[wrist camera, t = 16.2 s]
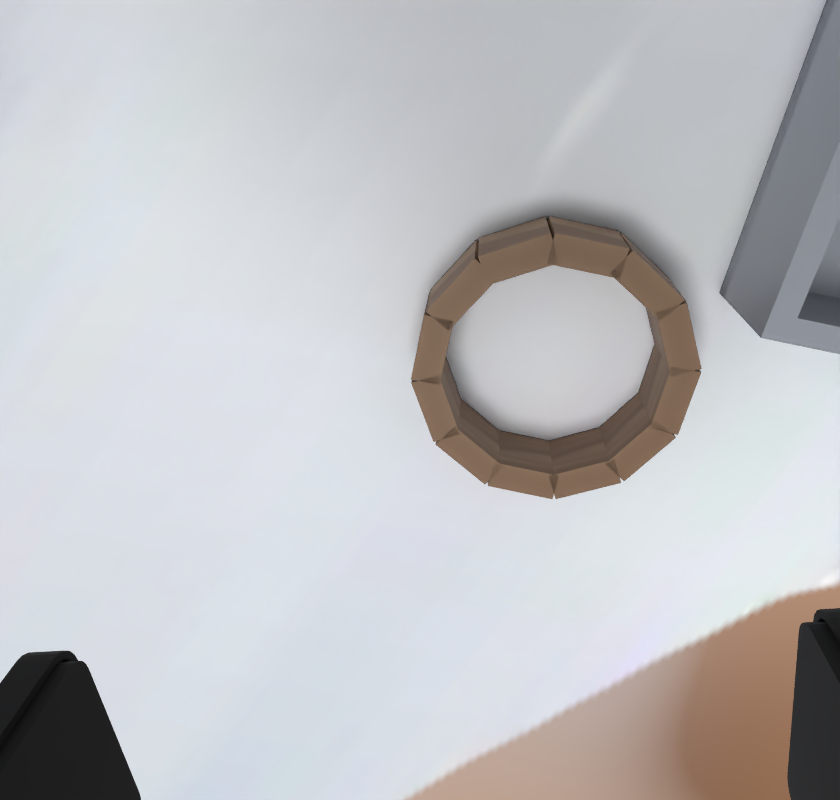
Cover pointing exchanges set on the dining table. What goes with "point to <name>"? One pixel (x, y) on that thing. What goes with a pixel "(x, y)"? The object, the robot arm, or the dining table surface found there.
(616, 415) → the walnut collar
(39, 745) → the robot arm
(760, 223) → the charcoal bin
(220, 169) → the dining table surface
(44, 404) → the dining table surface
